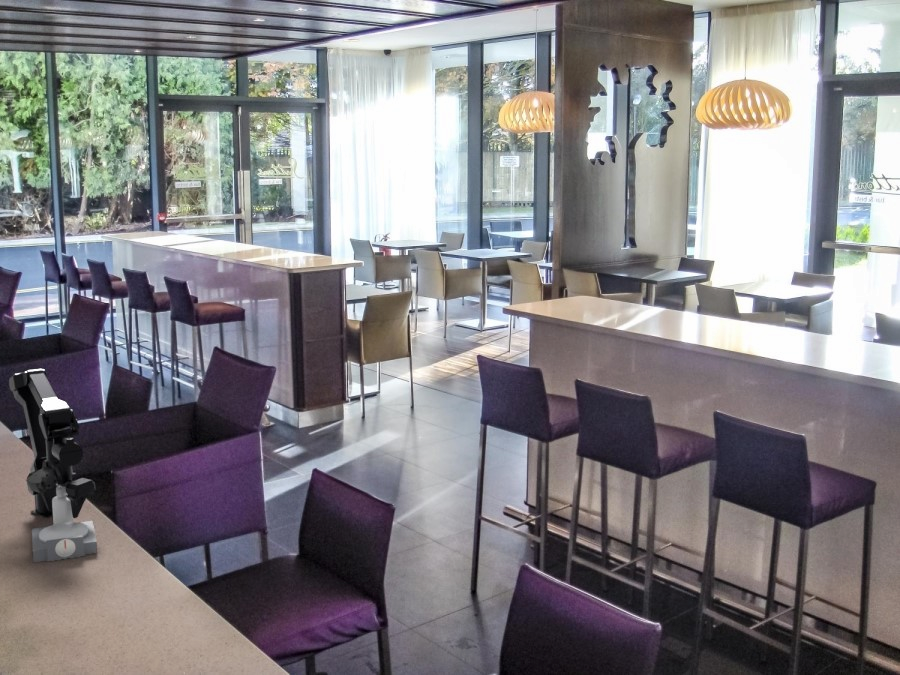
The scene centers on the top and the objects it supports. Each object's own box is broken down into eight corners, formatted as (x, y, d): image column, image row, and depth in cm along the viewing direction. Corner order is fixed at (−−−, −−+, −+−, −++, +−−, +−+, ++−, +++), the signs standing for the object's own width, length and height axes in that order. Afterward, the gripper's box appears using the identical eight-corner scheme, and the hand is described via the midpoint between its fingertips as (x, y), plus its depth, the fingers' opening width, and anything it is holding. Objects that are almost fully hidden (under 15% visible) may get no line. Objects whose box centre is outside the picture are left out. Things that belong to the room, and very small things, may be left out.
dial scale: (32, 540, 230) (31, 521, 229) (93, 531, 236) (92, 513, 235) (33, 564, 217) (32, 544, 216) (97, 554, 222) (96, 535, 221)
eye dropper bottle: (71, 522, 242) (68, 478, 239) (74, 529, 237) (72, 484, 235) (52, 525, 240) (49, 480, 237) (56, 532, 235) (53, 487, 233)
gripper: (6, 458, 232) (10, 517, 235) (57, 471, 223) (61, 532, 226) (44, 446, 242) (48, 503, 245) (95, 458, 233) (98, 517, 236)
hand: (62, 514), depth 238 cm, fingers open, 9 cm apart
